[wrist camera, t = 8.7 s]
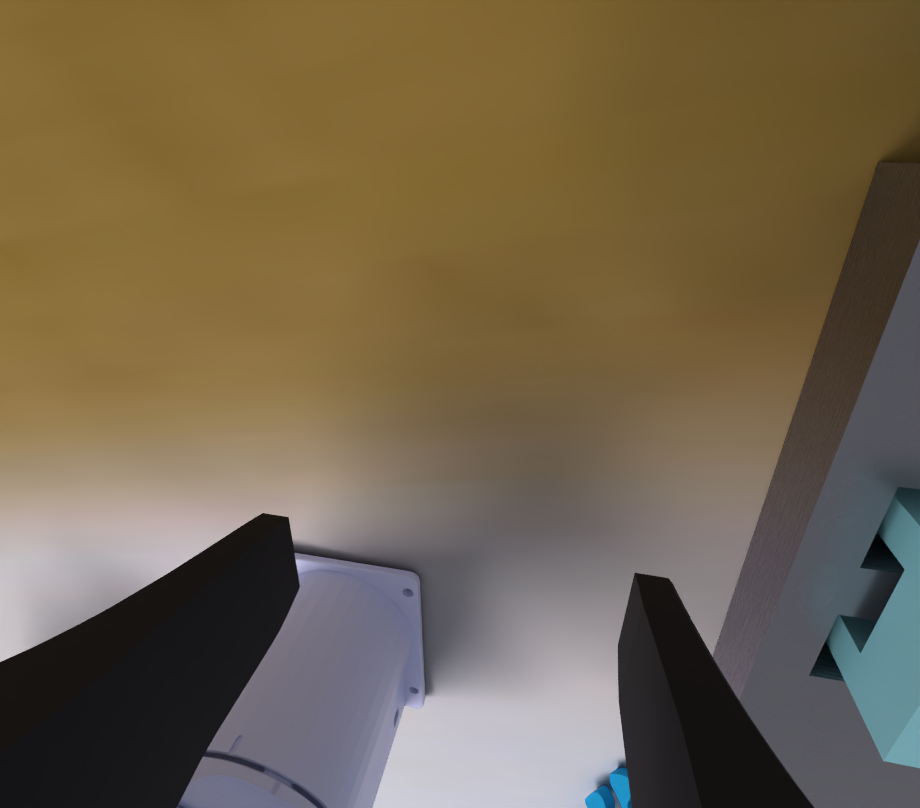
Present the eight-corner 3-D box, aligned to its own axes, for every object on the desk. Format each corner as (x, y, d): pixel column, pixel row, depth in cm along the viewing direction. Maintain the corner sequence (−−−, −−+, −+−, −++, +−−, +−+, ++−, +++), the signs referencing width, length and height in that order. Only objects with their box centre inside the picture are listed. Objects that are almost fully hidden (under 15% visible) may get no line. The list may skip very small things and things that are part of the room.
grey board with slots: (881, 758, 23) (919, 837, 21) (691, 721, 25) (703, 790, 22) (1261, 166, 12) (1446, 174, 10) (878, 162, 14) (947, 168, 11)
